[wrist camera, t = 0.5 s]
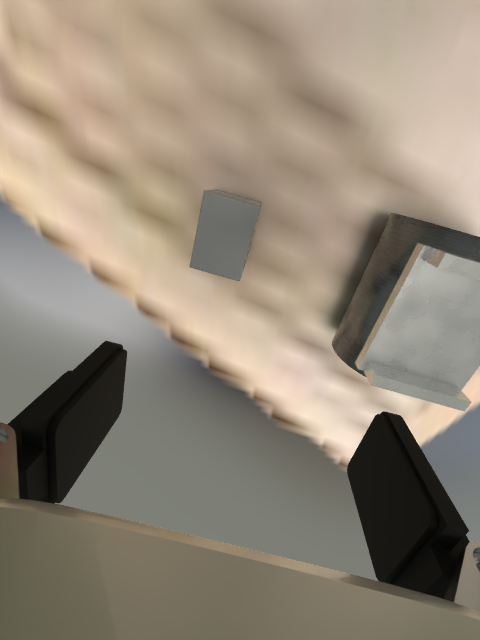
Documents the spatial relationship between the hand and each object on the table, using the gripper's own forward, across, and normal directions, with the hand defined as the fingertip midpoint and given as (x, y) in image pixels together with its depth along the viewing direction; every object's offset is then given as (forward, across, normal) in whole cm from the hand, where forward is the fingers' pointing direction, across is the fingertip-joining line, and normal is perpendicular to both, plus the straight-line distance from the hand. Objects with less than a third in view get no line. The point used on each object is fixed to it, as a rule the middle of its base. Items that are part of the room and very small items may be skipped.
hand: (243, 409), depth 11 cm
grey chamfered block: (+25, +4, -3) cm, 25 cm away
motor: (+25, -15, -1) cm, 29 cm away
